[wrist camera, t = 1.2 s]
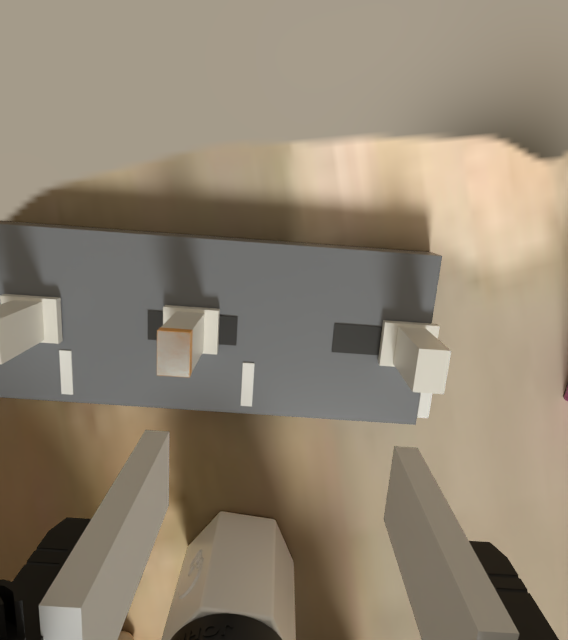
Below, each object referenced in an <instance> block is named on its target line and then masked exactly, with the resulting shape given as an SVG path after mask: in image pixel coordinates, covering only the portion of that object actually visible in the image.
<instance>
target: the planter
mask: <svg viewBox="0 0 568 640" xmlns="http://www.w3.org/2000/svg"><path fill="white" fill-rule="evenodd" d="M118 640H134V638H133V636H132V635H131V634H130V633H129V632H126V631H121V632H120V634H119V637H118Z"/></svg>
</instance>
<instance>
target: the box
mask: <svg viewBox="0 0 568 640" xmlns="http://www.w3.org/2000/svg"><path fill="white" fill-rule="evenodd" d="M564 399H565V400H566V401H568V385H567V388H566V391H565V394H564Z"/></svg>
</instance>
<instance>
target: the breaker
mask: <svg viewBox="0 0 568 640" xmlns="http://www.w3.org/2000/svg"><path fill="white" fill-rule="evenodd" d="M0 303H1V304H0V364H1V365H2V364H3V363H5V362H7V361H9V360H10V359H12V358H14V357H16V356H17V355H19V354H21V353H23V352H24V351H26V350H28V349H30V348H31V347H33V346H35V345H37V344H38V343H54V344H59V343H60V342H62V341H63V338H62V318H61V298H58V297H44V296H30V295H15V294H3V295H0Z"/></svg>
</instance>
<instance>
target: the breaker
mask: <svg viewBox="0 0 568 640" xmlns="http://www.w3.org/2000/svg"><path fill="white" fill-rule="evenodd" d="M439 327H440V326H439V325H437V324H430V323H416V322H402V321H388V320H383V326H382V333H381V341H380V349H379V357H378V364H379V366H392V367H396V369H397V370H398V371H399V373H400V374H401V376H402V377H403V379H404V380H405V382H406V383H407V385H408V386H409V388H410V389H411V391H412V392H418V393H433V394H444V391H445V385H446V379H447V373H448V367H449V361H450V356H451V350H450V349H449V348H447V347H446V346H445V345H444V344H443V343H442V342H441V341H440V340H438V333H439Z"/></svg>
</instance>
